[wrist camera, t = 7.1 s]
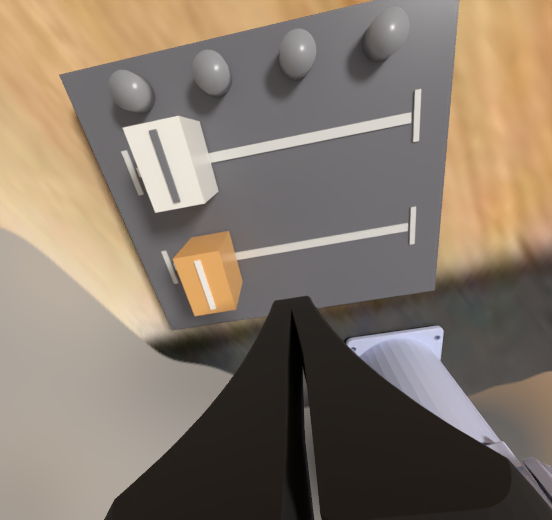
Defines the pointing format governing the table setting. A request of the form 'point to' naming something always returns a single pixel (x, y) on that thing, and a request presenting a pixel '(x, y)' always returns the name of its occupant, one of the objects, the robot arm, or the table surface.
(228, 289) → the fader
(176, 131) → the fader
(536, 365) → the table surface
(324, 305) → the mixer board
